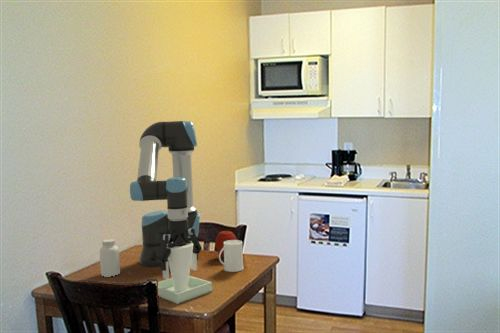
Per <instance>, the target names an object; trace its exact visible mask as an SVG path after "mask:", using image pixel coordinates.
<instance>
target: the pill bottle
mask: <svg viewBox="0 0 500 333" xmlns="http://www.w3.org/2000/svg"><path fill="white" fill-rule="evenodd" d="M101 242H102V243H101V244H102V246H101V247H100V249H99V265H100V274H101V276H102V277H103V276H104V278H112V277H111V276H113V277H116V276H115V275H117V276H119V275H120V274H121V267H120V266H121V264H120V250H119V249H120V248H119V247H118V246H117V245H116V239H113V238H111V239H110V238H109V239H104V240H102V241H101ZM118 274H119V275H118Z"/></svg>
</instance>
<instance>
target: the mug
mask: <svg viewBox="0 0 500 333" xmlns="http://www.w3.org/2000/svg"><path fill="white" fill-rule="evenodd" d="M223 250H224V258H223V260H222V257H221V253H222V251H223ZM243 253H244V252H243V241H242V240H239V239H237V240H228V241H225V242H224V247H223V248H222V249H221V251H220V253H219V254H218V260H219V262H220V263H221V265H224V266H223V267H224V268H223V271H224V272H229V273H235V272H236V273H237V272H241V271H243V270H244V268H245V267H244V260H243V259H244V258H243V256H244V255H243Z"/></svg>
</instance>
